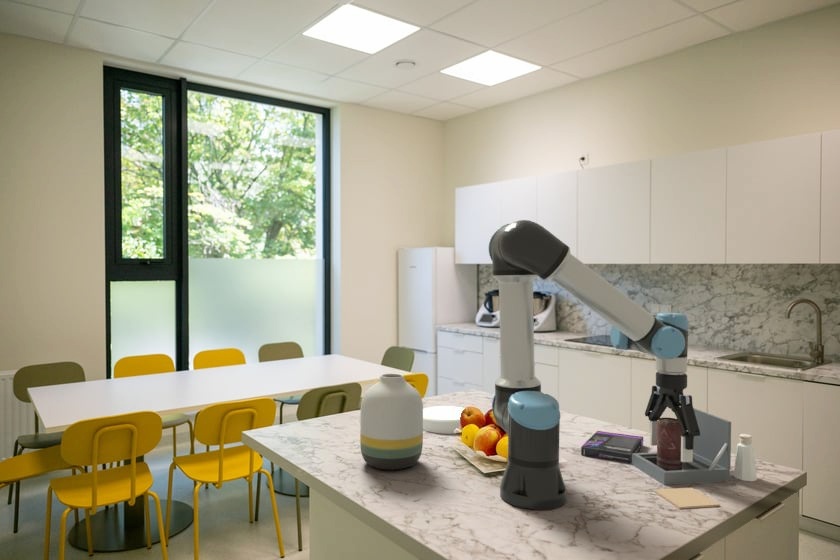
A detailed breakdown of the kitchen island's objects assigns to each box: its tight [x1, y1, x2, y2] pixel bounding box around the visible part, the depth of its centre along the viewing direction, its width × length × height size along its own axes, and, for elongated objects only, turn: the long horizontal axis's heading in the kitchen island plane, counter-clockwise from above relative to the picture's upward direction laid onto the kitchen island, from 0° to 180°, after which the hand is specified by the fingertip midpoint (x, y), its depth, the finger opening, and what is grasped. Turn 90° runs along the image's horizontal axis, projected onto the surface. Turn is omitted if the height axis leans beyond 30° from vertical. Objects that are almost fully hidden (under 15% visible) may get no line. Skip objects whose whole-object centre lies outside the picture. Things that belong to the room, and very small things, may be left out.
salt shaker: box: [732, 433, 758, 482], centre depth 144 cm, size 5×5×11 cm
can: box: [656, 417, 683, 471], centre depth 147 cm, size 6×6×14 cm
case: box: [631, 407, 732, 486], centre depth 147 cm, size 18×15×15 cm
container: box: [423, 405, 465, 435], centre depth 192 cm, size 20×20×5 cm
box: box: [580, 430, 644, 465], centre depth 166 cm, size 14×4×20 cm
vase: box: [359, 373, 424, 471], centre depth 152 cm, size 17×17×24 cm
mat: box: [653, 487, 721, 510], centre depth 130 cm, size 10×10×1 cm
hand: (670, 453), depth 147 cm, fingers open, 13 cm apart
